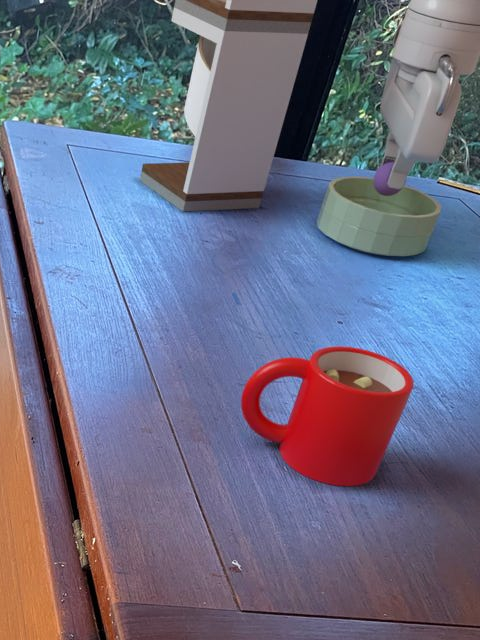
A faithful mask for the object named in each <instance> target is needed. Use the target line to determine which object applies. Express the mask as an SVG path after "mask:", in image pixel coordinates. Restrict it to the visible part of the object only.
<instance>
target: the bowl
mask: <svg viewBox="0 0 480 640" xmlns="http://www.w3.org/2000/svg"><path fill="white" fill-rule="evenodd" d="M442 209H443V208H442V206H441V204H440V202H439V201H438V200H436V199H435V198H433V197H432V196H431V195H429V194H427V193H425V192H423V191H421V190H419V189H416V188H414V187H410V186H408V185H406V184H405V185H404V187H403V188H402V189H401V190H400V191H399V192H398V193H396V194H395V195H392V196H383V195H381V194H379V193H378V192H377V191H376V189H375V187H374V177H370V176H369V177H367V176H355V175H354V176H341V177H337V178H334V179H331V181H330V182H329V183H328V185H327V188H326V191H325V194H324V197H323V201H322V203H321V207H320V210H319V213H318V216H317V220H316V226H317V228H318V230H319V231H321V232H322V233H323V234H324V235H325V236H326V237H327V238H330V239H332V240H333V241H335V242H337V243H339V244H341V245H342V246H345V247H348V248H350V249H353V250H355V251H359V252H361V253H362V252H363V253H366V254H371V255H376V256H382V257H383V256H384V257H385V256H386V257H410V256H417V255H419V254H421V253H423V252H425V251H426V249H427V247H428V244H429V241H430V239H431V237H432V234H433V232H434V229H435V227H436V224H437V222H438V219H439V217H440V214H441V212H442Z"/></svg>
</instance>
